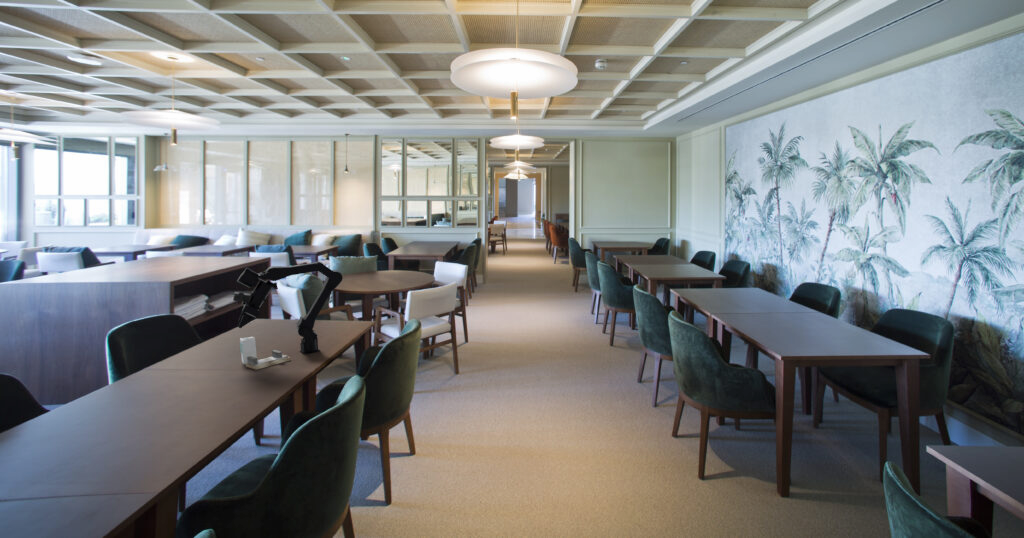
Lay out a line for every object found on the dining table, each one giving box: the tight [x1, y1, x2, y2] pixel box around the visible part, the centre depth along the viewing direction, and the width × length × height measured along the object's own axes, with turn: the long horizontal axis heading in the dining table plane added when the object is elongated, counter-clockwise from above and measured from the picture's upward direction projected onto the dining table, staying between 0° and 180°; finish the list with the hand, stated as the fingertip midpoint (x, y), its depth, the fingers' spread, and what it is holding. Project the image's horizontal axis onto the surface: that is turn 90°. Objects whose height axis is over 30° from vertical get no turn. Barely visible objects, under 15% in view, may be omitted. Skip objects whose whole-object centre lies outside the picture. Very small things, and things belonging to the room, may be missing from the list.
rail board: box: [245, 349, 291, 370], centre depth 213 cm, size 15×8×4 cm, turn 145°
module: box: [239, 336, 258, 365], centre depth 215 cm, size 5×4×10 cm
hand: (239, 325), depth 215 cm, fingers open, 9 cm apart
